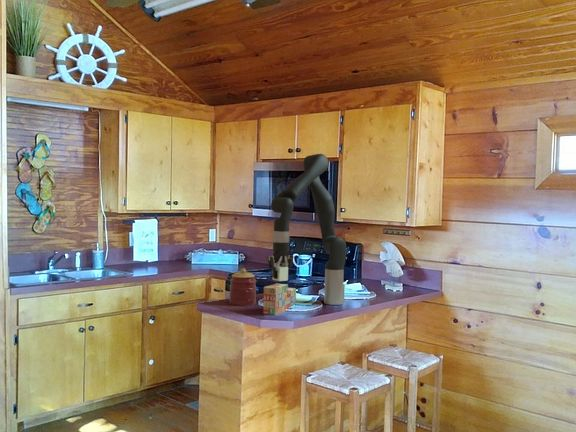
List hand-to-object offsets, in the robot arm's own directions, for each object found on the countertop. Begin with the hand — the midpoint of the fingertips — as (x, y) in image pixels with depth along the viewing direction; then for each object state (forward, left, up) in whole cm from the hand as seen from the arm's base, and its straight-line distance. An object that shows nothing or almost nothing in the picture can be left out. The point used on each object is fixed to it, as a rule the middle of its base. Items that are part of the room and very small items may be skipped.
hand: (280, 278), depth 254 cm
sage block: (0, 0, -1) cm, 1 cm away
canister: (+5, -22, -15) cm, 27 cm away
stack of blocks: (-1, -1, -16) cm, 16 cm away
